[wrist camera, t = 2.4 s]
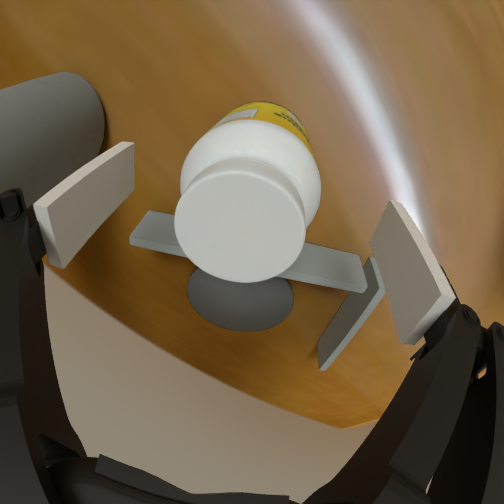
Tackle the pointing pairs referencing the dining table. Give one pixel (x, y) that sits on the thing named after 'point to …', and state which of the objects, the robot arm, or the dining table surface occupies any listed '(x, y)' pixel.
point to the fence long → (303, 269)
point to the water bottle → (47, 132)
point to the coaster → (240, 301)
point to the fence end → (351, 316)
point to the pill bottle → (248, 194)
